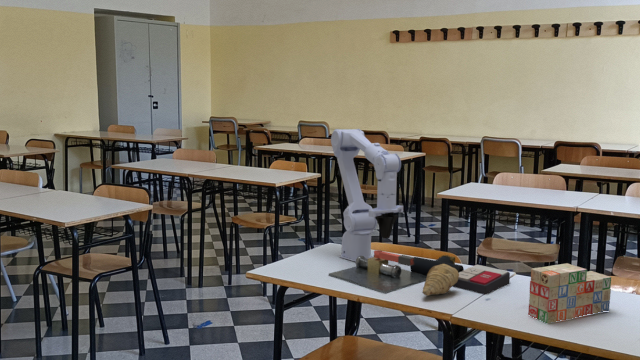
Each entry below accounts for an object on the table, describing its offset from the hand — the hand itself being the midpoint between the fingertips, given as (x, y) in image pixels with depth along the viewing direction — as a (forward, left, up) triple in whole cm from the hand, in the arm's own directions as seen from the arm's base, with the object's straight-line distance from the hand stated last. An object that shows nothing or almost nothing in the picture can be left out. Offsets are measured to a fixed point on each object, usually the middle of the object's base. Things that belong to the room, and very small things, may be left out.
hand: (385, 237), depth 184 cm
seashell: (+25, -7, -11) cm, 28 cm away
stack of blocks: (+55, +7, -11) cm, 56 cm away
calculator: (+27, +11, -11) cm, 31 cm away
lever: (+6, -3, -5) cm, 9 cm away
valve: (+4, -6, -10) cm, 13 cm away
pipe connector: (+13, +11, -11) cm, 20 cm away
